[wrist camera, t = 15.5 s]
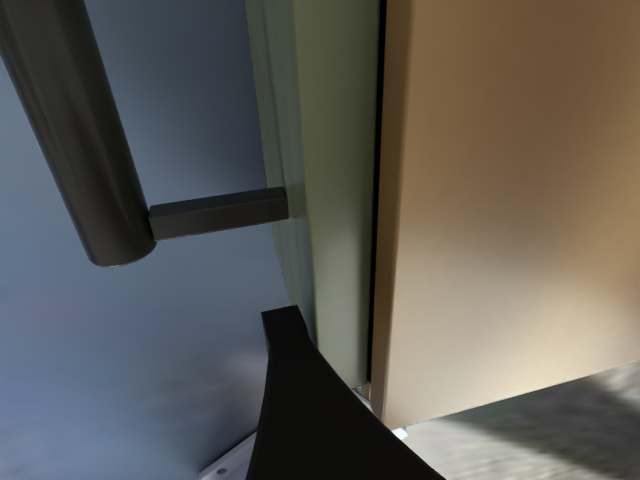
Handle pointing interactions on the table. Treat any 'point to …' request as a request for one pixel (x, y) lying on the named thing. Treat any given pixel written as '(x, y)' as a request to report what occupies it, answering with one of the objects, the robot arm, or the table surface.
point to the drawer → (277, 141)
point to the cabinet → (504, 202)
